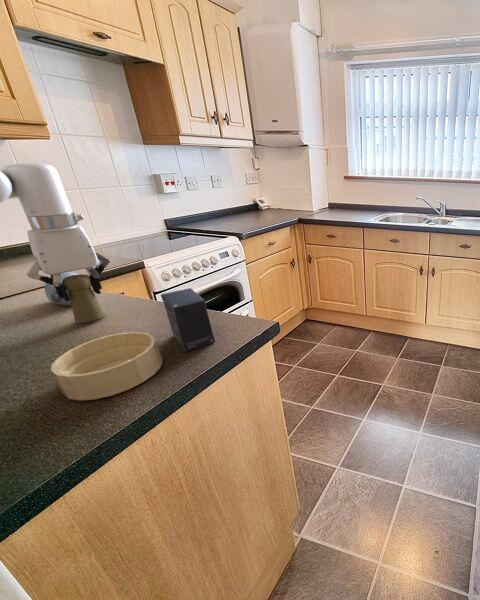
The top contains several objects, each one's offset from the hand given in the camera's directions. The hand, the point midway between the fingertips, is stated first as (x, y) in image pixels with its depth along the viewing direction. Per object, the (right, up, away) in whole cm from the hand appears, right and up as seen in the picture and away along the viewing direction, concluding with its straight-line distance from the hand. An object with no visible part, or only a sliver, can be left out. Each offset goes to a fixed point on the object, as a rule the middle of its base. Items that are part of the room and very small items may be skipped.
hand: (82, 295), depth 83 cm
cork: (0, -6, +2) cm, 6 cm away
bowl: (+25, -16, -19) cm, 35 cm away
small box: (+32, -10, -6) cm, 34 cm away
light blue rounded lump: (-16, -2, +14) cm, 21 cm away
